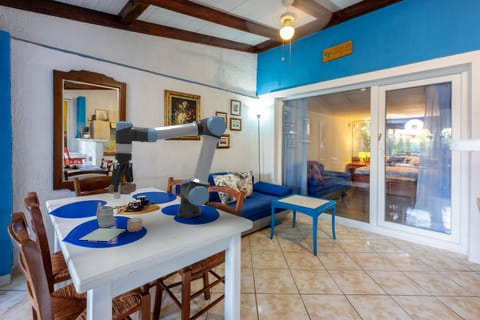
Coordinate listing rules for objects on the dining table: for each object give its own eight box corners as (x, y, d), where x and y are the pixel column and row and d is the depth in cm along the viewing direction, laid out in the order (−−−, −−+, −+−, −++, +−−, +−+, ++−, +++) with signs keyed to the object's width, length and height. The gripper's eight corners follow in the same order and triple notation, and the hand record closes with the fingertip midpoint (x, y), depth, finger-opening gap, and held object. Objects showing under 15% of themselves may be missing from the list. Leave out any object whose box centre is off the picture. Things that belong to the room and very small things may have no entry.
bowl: (144, 227, 121) (144, 218, 121) (138, 232, 114) (138, 222, 114) (131, 226, 121) (131, 217, 121) (124, 231, 114) (124, 222, 114)
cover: (135, 191, 117) (136, 182, 117) (126, 194, 108) (126, 184, 108) (119, 190, 118) (119, 181, 117) (108, 193, 109) (108, 183, 108)
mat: (125, 230, 116) (125, 229, 116) (108, 242, 102) (108, 240, 102) (99, 229, 116) (99, 228, 116) (79, 240, 102) (79, 239, 102)
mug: (104, 228, 117) (104, 206, 117) (90, 224, 122) (90, 203, 121) (117, 224, 124) (117, 203, 124) (103, 220, 129) (103, 200, 128)
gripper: (128, 151, 123) (127, 192, 124) (102, 152, 101) (101, 201, 102) (141, 152, 123) (140, 192, 124) (118, 153, 101) (117, 202, 102)
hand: (122, 196), depth 113 cm, fingers closed on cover, 9 cm apart
